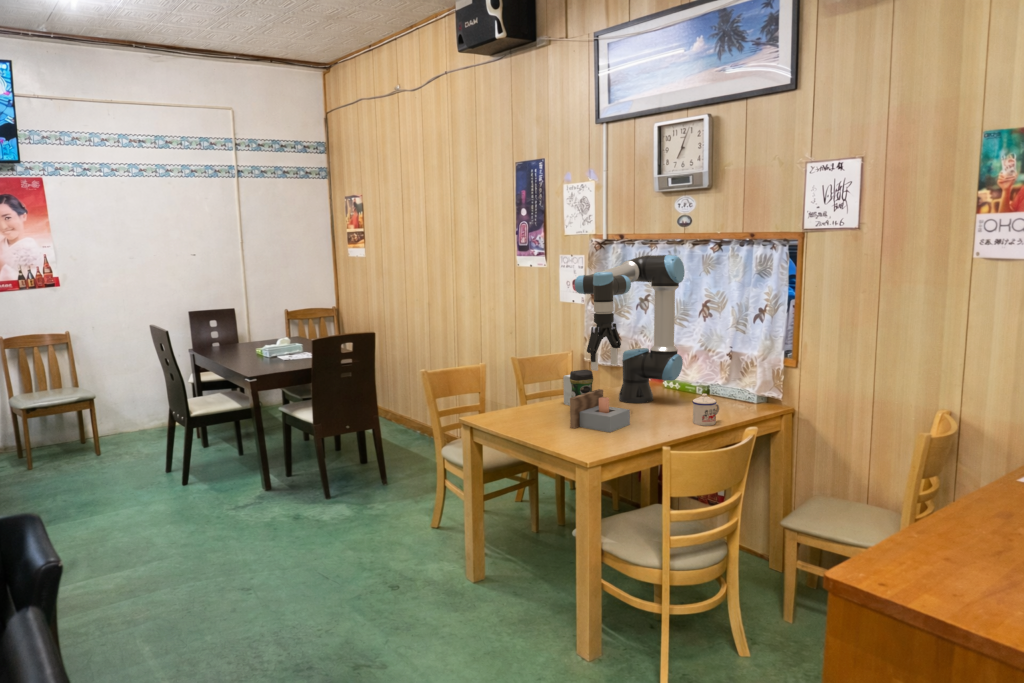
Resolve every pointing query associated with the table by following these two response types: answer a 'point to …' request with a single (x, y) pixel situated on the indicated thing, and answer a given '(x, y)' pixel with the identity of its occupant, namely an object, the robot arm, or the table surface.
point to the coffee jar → (581, 382)
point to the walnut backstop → (583, 405)
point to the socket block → (605, 419)
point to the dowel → (604, 405)
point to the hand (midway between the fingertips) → (604, 367)
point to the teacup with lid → (705, 410)
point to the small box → (567, 389)
